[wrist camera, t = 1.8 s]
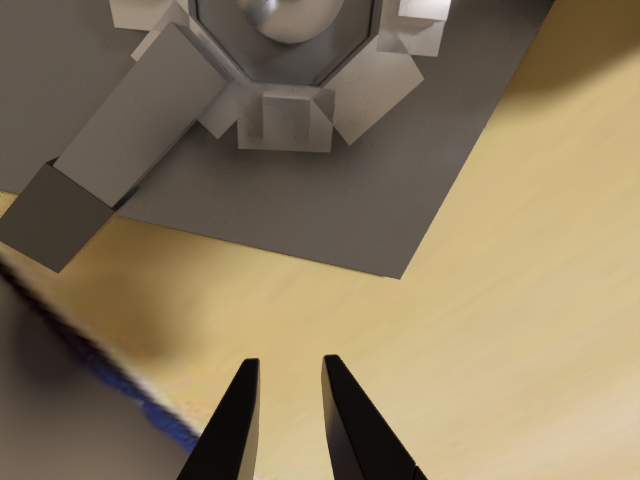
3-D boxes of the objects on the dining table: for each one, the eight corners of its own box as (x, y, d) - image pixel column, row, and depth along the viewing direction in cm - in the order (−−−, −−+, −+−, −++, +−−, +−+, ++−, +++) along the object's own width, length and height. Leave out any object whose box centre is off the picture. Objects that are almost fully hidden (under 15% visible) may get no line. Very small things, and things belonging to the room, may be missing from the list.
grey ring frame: (295, -449, 9) (314, -945, 4) (491, 6, 14) (581, -16, 10) (-58, 104, 14) (-208, 124, 10) (192, 275, 20) (168, 335, 15)
